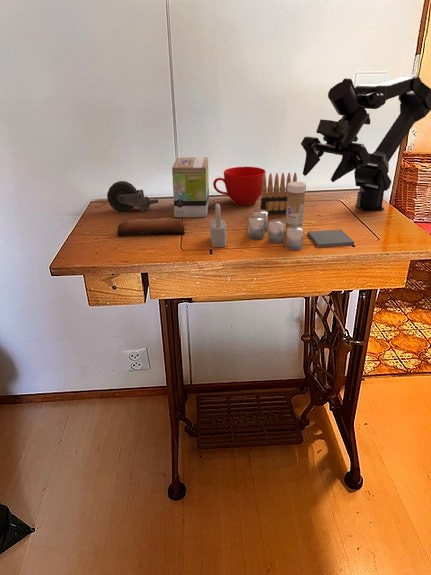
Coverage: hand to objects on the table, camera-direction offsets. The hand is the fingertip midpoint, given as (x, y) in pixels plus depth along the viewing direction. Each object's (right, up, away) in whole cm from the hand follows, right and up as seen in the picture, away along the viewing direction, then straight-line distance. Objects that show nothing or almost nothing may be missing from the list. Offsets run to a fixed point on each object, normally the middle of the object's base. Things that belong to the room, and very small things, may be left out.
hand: (317, 177), depth 115 cm
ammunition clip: (-8, -6, +18) cm, 20 cm away
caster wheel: (-52, -5, +24) cm, 57 cm away
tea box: (-33, -5, +23) cm, 41 cm away
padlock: (-25, -17, -2) cm, 31 cm away
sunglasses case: (-43, -13, +7) cm, 46 cm away
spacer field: (-12, -16, -1) cm, 20 cm away
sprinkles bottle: (-6, -15, +2) cm, 16 cm away
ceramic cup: (-19, -2, +27) cm, 33 cm away
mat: (+3, -16, -2) cm, 16 cm away
